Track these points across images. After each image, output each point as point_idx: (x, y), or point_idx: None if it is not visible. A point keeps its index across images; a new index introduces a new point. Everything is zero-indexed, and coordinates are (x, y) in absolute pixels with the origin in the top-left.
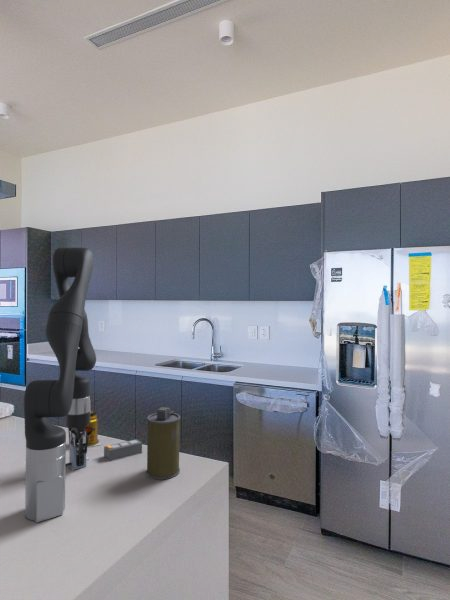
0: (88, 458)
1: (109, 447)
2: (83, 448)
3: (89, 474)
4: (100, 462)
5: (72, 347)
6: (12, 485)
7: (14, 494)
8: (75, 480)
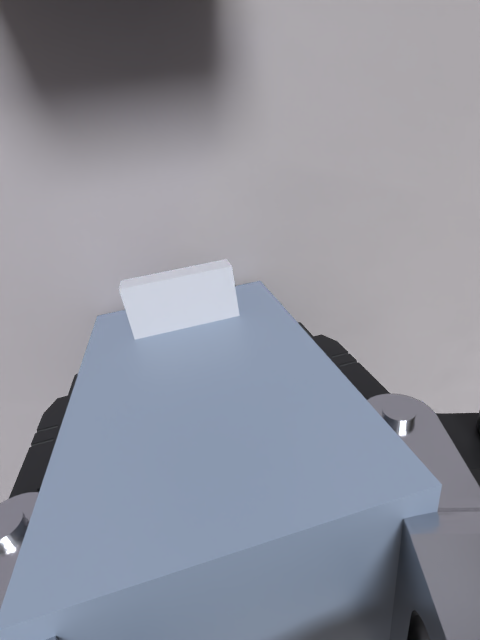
0: (230, 272)
1: None
2: (463, 486)
3: (434, 265)
4: (201, 78)
5: None
6: None
7: None
8: (455, 371)
